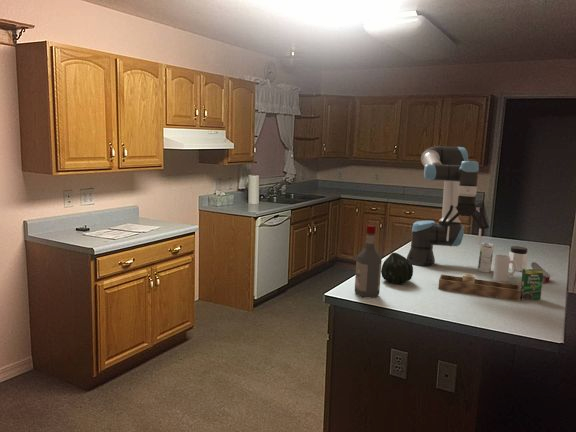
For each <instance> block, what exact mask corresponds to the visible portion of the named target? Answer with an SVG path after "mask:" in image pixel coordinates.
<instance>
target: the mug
mask: <svg viewBox="0 0 576 432" xmlns="http://www.w3.org/2000/svg"><path fill="white" fill-rule="evenodd" d="M509 263H512V264H513V265H514V270H512V272H509V270H510V269H509ZM493 265H494V266H493V281H495V282H507V281H508V277H513V276H514V275H515V273H516V272H517V271H516V263H515V260H512V261H511V260H510V256H509V255H507V254H506V255H505V254H495V255H494V264H493Z"/></svg>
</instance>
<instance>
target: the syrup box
mask: <svg viewBox="0 0 576 432" xmlns="http://www.w3.org/2000/svg"><path fill="white" fill-rule="evenodd" d="M494 246H495V244H493V243H489V242H482V243H480V250H479V256H478V257H479V258H478V265H477V272H483V273H490V272H491V271H492V266H493V265H492V262H493V255H494Z"/></svg>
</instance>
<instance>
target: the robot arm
mask: <svg viewBox="0 0 576 432" xmlns="http://www.w3.org/2000/svg"><path fill="white" fill-rule="evenodd" d="M420 162H421V164H422V165H423V166H424V169H423V178H424V179H425V180H428V181H443V191H442V192H443V193H442V197H443V198H442V212H441V218H440V219H439V220H438V223H436V221H434V220H429V219H428V220H417V221H415V222H414V223H412V229H411V241H410V243H411V244H410V249H409V251H408V254H407V256H406V259H408V260H409V261H410V262H411V263H412V265H414V266H423V267H424V266H427V267H428V266H429V267H430V266H434V265H435V264H436V260H435V255H434V251H433V249H434V246H441V247H442V246H443V247H445V246H446V247H459V246H461V244H462V241H463V237H464V233H465V230H464V229H465V227H464V225H462V221H461V220H460V219H459V217H460V216H462V217H465V216H466V217H472V218H473V219H474V221H475V222H476V224H478V226H479V229H478V240H477V244H478V245H481V240H482V239H481V238H482V237H484V235H485V230H486V229H489V228H490V226H489V224H488V222H487V219H486V217H485V215H484V212H483V211H484V210H483V207H482V206H480V207H476V201H477V199H476V198H477V197H476V195H477V187H478V178H479V171H480V168H479V162H478V161H474V160H472V161H471V160H469V154H468V151H467V149H466V148H465V147H464V146H463V147H462V146H450V145H449V146H448V145H446V146H443V145H442V146H440V145H435V146H431V147H428V148H426V149H424V151H423V152H421V156H420ZM476 211H477V212H478V213H479V215H480V218H481V221H483V224H484V225H483V224H482V222H480V220H479V218H477V216H476V215H475V212H476Z"/></svg>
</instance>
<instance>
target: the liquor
mask: <svg viewBox="0 0 576 432" xmlns="http://www.w3.org/2000/svg"><path fill="white" fill-rule="evenodd" d="M376 227H377V226H376V225H374V224H373V225H372V224H368V225H366V238H365V245H364V248H363V249H362V250H361V251H360V252H359V253H358V254H357V255H356V259H355V260H356V263H355V278H354V279H355V280H354V293H355V294H356V295H357V294H358V295H357V296H358V297H360V296H362V297H361V298H364V297H372V298H377V297H378V296H379V295H380V289H381V278H382V274H381V269H382V257H381V255H380V254H379V252H378V251H377V250H376V247H375V237H376V236H375V235H376ZM376 296H377V297H376Z"/></svg>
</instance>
